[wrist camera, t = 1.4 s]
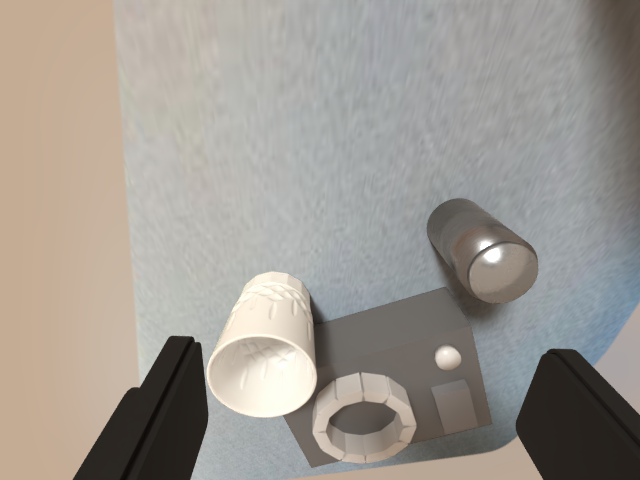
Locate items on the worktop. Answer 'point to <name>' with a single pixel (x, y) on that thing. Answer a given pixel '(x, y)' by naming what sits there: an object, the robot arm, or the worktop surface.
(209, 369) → the white cup
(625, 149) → the worktop surface
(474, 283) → the shiny metal cylinder
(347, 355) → the camera body
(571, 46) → the worktop surface
